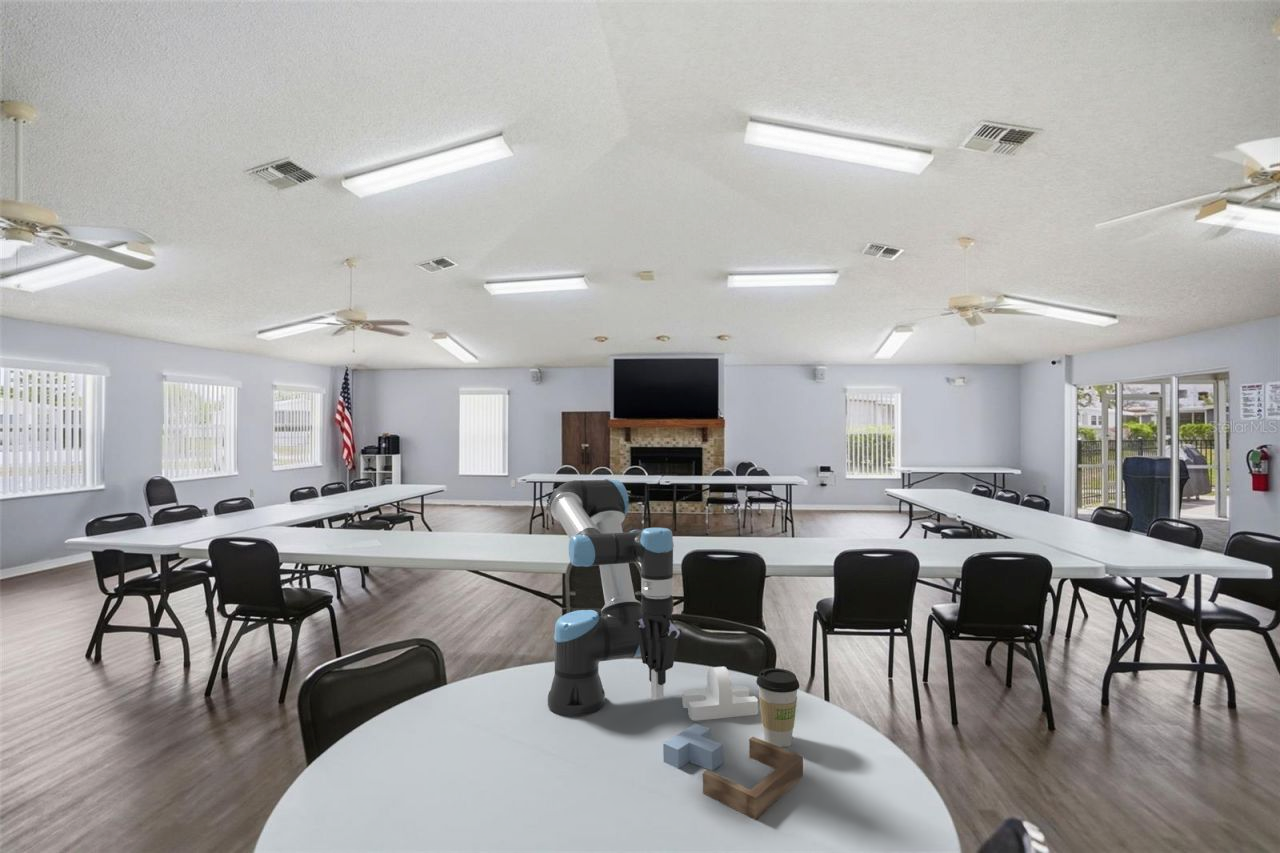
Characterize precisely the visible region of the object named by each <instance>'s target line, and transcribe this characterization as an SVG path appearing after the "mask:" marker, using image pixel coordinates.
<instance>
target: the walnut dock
mask: <svg viewBox="0 0 1280 853" xmlns="http://www.w3.org/2000/svg"><path fill="white" fill-rule="evenodd" d="M748 746H749V750H748V752H749V753H748V754H749V758H750V759H751V760H755V761H757V762H759V763H761V764H763V765H766V766H768V767H770V768H773V770H772V771H771V772H770V773H768V775H766V776H765V777H764V778H763V779H761V781H759V782H758V783H757V784H756V785H755V786H753V787H752V788H751V789H750V788H747V787H745V786H743V785H741V784H738V783H737V782H734V781H733V780H731V779H729V778H726V777H725V776H722V775H720V774H719V773H718V774H717V773H716V772H713V771H710V770H708V769H706V770H705V771H704V772H702V794H703V795H705V796H708V797H709V798H712V799H713V800H715V801H718V802H719V803H722V804H723V805H725V806H727V807H730V808H732V809H733V810H736V811H737V812H739V813H741V814H743V815H745V816H746V817H749V818H751V819H753V820H755V821H756V820H757V819H759V818H760V817H761V816H762V815H763V814H764V813H765V812H766V811H767V810H768V809H769V808H771V807H772V806H773V805H774V804H775V803H776V802H777V801H778V800H779V799H781V797H782V796H783V795H784V794H785V793H787V792H788V790H790V789H791V788H792V787H793V786H794V785H795V784H796V783H797V782H798V781H799V780H801V778H802V777H803V776H804V756H803V755H802V754H798V753H796V752H793V751H790V750H788V749H785V748H784V747H778V746H776V745H773V744H770V743H768V742H766V741H765V740H763V739H760V738H757V737H755V736H752V737H750V738H749V739H748Z"/></svg>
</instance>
